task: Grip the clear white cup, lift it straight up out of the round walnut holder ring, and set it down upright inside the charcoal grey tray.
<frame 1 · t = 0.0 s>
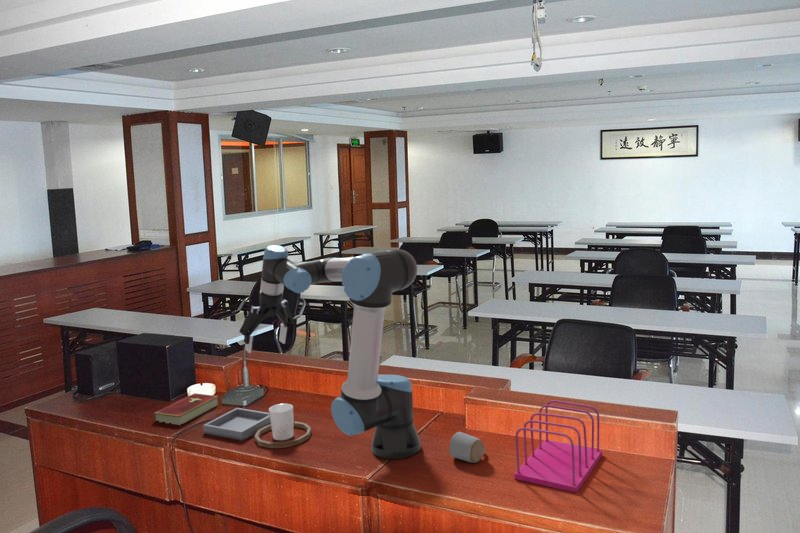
hand: (265, 346, 226), 28 cm above the table, tool tilted 20°, fingers open, 13 cm apart
white cup: (283, 437, 219), resting in holder ring
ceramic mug: (469, 458, 196), on the table
tray: (240, 427, 228), on the table
holder ring: (283, 436, 219), on the table
file sorter: (559, 468, 187), on the table
hardcover book: (187, 414, 245), on the table
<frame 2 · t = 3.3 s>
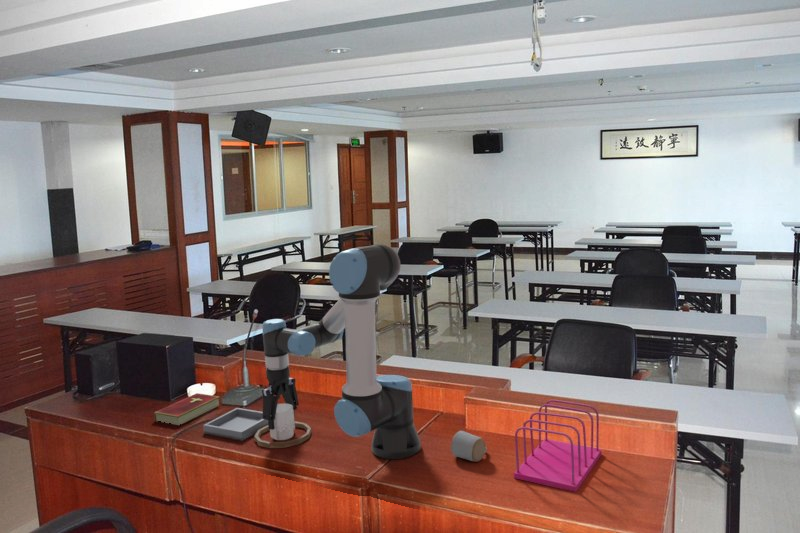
hand: (283, 432, 218), 1 cm above the table, tool pointing down, fingers closed on white cup, 8 cm apart
white cup: (283, 436, 219), resting in holder ring, touching gripper
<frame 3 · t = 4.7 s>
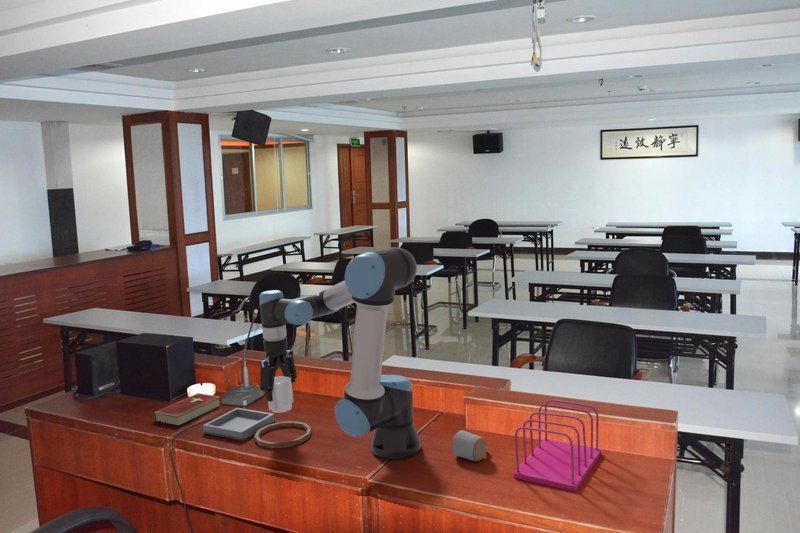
hand: (281, 405, 217), 11 cm above the table, tool pointing down, fingers closed on white cup, 8 cm apart
white cup: (281, 409, 217), point 9 cm above the table, touching gripper
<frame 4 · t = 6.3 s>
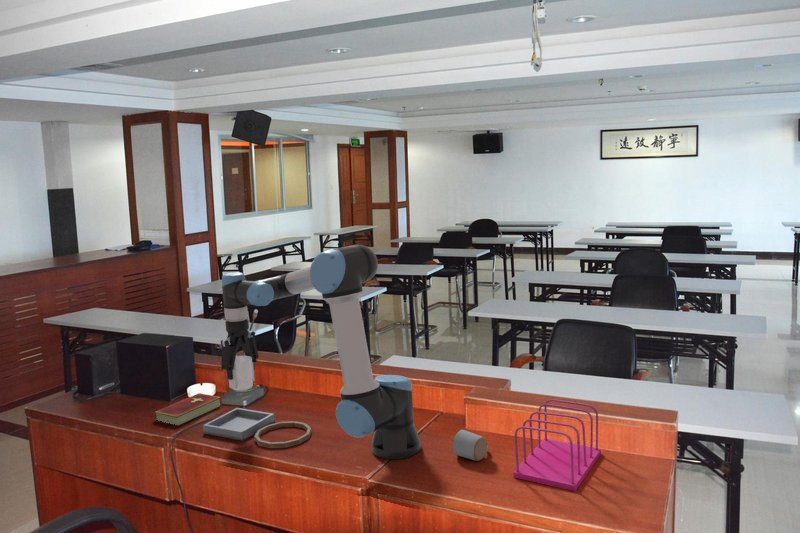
hand: (242, 384, 224), 16 cm above the table, tool pointing down, fingers closed on white cup, 8 cm apart
white cup: (242, 388, 224), point 15 cm above the table, touching gripper
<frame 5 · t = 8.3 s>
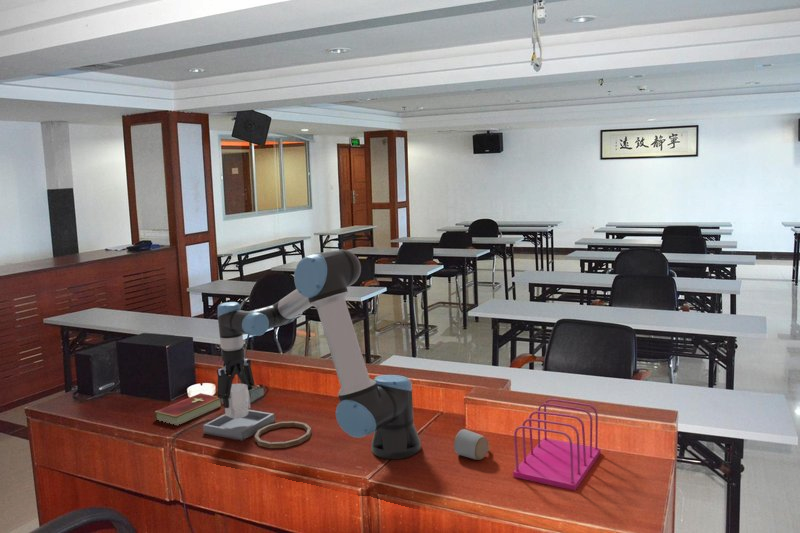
hand: (238, 411, 227), 6 cm above the table, tool pointing down, fingers closed on white cup, 8 cm apart
white cup: (238, 415, 227), point 4 cm above the table, touching gripper
when the fingers open (4 cm above the table, at t = 9.6 s): white cup drops 2 cm, resting on tray.
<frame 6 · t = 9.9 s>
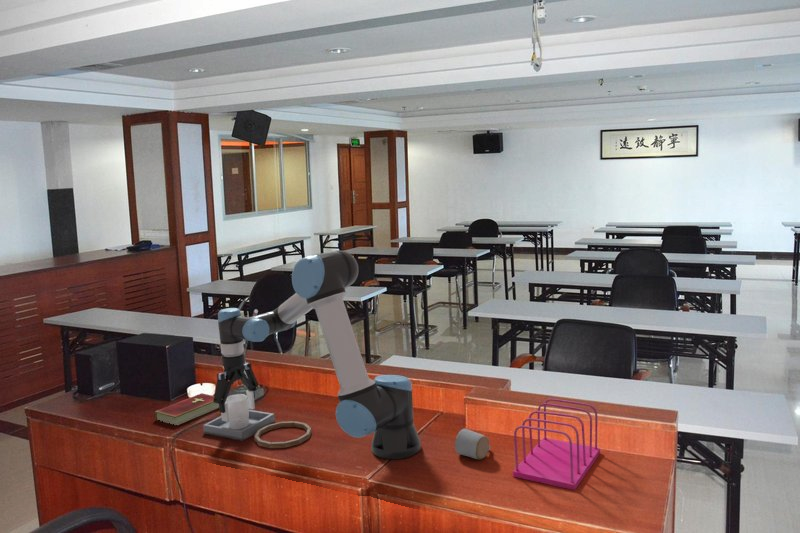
hand: (238, 414, 227), 5 cm above the table, tool pointing down, fingers open, 11 cm apart
white cup: (239, 426, 228), point 1 cm above the table, touching tray
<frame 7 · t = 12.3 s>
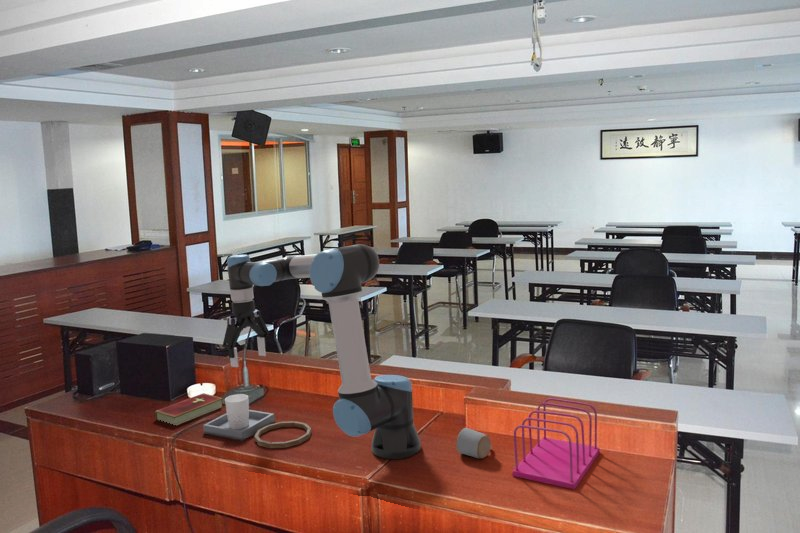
hand: (248, 361, 227), 23 cm above the table, tool pointing down, fingers open, 13 cm apart
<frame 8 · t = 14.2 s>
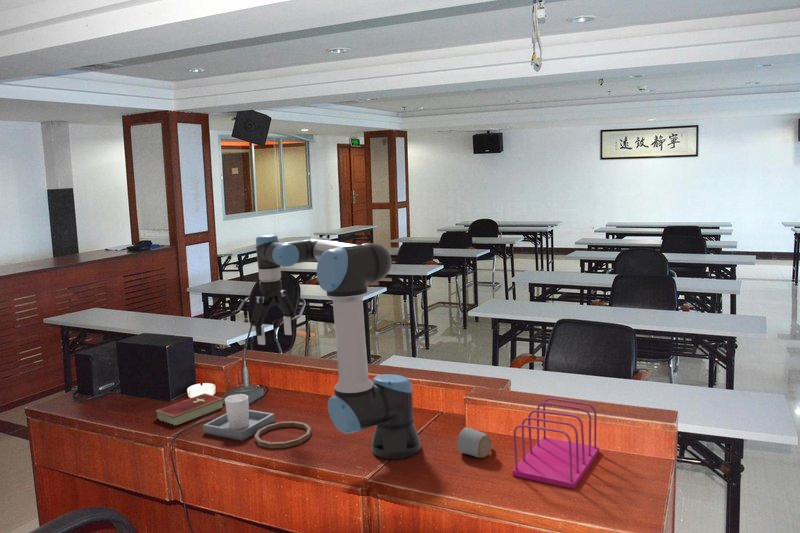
hand: (275, 339, 231), 29 cm above the table, tool pointing down, fingers open, 13 cm apart
at the end: white cup inside the target area on the tray (0.3 cm from its centre), point 0.6 cm above the tray's base; white cup tilted 0°; the gripper is holding nothing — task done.
